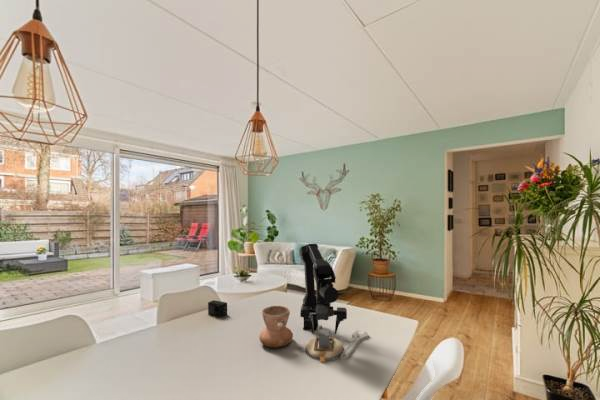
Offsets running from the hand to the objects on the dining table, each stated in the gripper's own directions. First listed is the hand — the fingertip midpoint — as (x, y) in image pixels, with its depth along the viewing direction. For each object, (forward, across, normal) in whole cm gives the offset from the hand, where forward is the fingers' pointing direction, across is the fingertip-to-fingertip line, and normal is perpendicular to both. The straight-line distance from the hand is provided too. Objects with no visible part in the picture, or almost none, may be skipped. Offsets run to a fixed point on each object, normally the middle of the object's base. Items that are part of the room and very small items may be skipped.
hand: (324, 333), depth 112 cm
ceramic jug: (+7, -22, +4) cm, 23 cm away
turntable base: (+7, 0, 0) cm, 7 cm away
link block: (+5, 0, 0) cm, 5 cm away
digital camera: (+7, -63, +31) cm, 70 cm away
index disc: (+7, 0, 0) cm, 7 cm away
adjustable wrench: (+7, +11, +6) cm, 15 cm away
